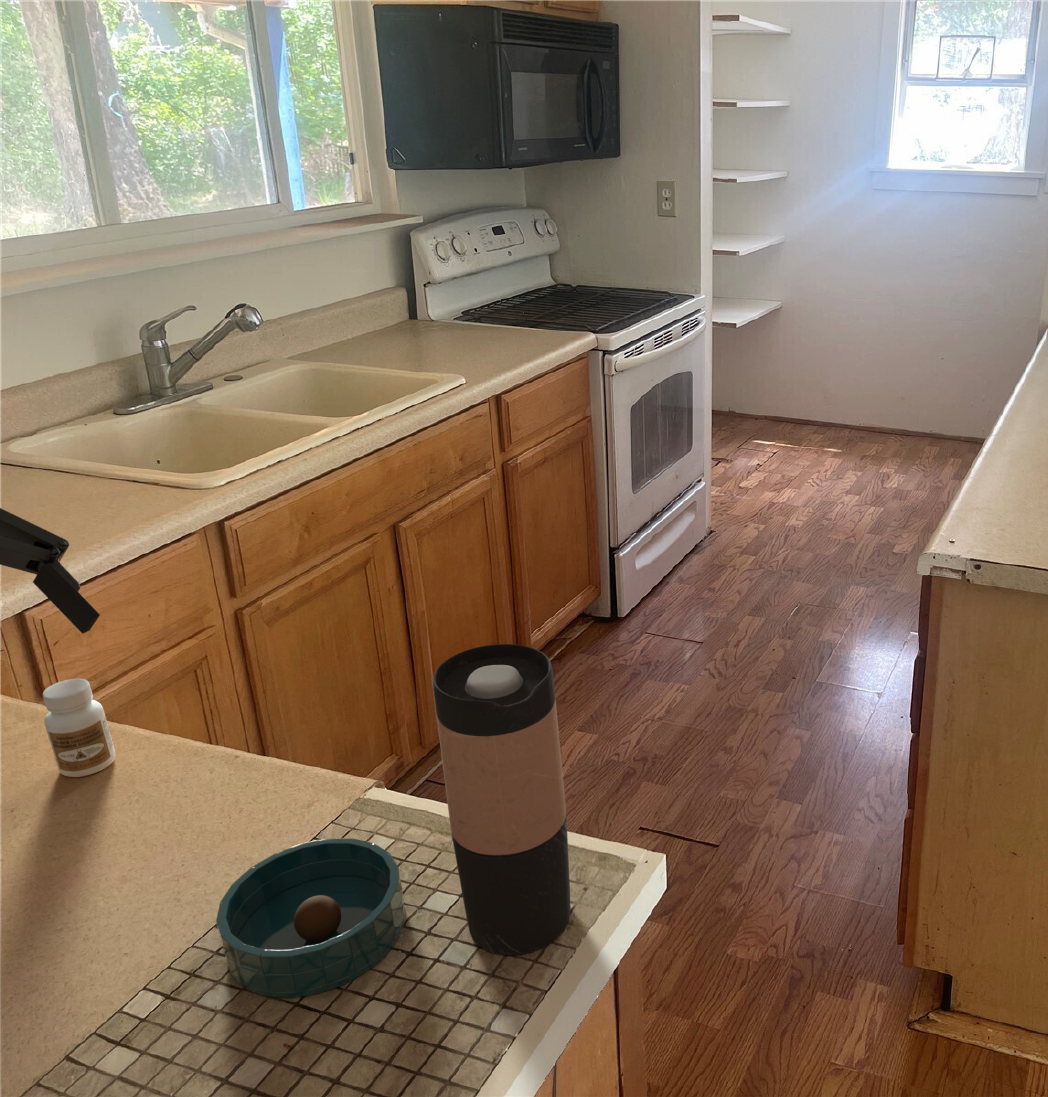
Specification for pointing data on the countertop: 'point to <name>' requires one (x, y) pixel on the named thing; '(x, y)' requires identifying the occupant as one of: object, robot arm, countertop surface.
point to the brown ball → (317, 918)
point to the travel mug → (505, 794)
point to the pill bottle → (77, 729)
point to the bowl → (273, 898)
